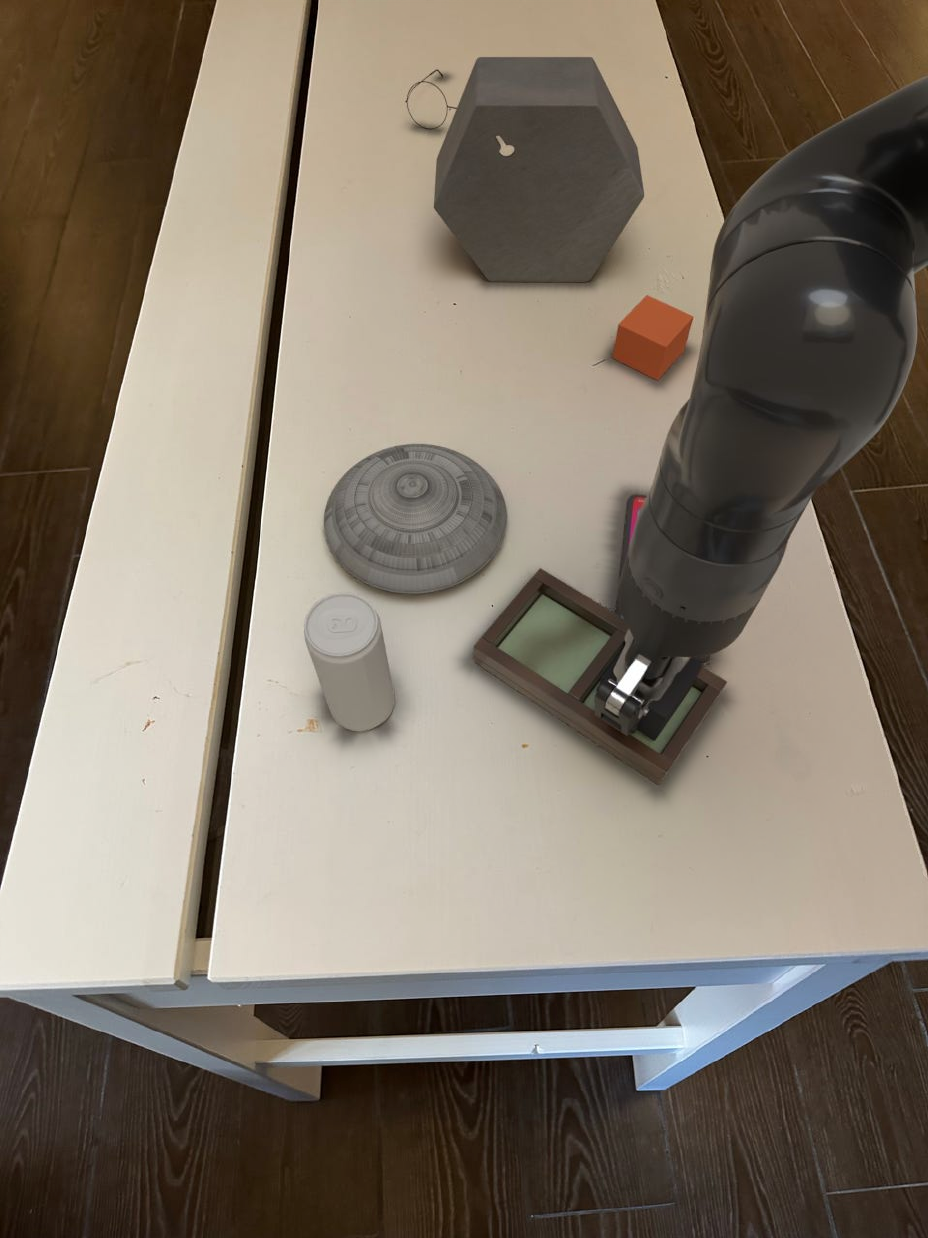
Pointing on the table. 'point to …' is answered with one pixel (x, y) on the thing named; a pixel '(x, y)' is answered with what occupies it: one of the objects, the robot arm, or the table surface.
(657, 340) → the terracotta cube
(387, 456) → the flying saucer
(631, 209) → the planter
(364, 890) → the table surface
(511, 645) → the double picture frame
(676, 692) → the black square block
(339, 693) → the beverage can
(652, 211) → the table surface
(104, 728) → the table surface
